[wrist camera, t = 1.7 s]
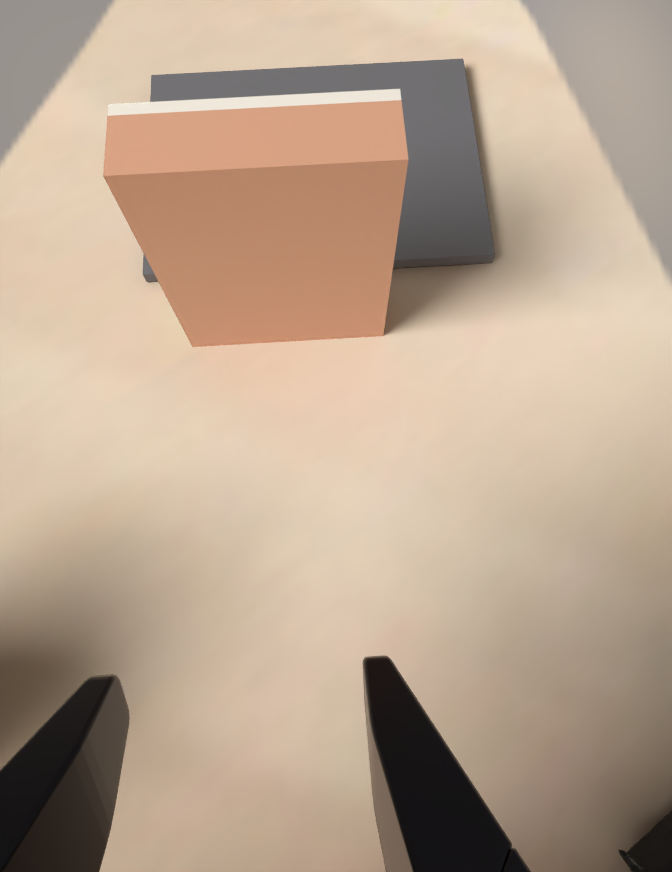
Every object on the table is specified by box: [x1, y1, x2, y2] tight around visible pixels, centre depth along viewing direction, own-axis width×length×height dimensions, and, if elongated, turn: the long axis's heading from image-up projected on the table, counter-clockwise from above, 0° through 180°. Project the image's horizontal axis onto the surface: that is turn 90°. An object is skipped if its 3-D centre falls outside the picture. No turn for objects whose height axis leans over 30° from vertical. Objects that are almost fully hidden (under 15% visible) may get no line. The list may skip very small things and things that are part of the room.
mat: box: [143, 59, 495, 282], centre depth 28 cm, size 11×15×1 cm
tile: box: [103, 89, 408, 347], centre depth 21 cm, size 2×8×10 cm, turn 94°
